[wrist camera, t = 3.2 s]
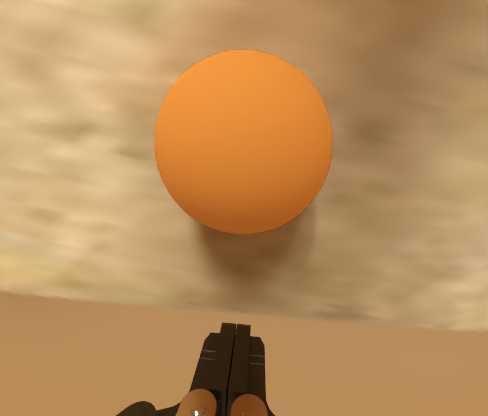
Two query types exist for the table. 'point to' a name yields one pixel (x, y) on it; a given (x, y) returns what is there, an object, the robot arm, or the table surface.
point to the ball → (243, 142)
